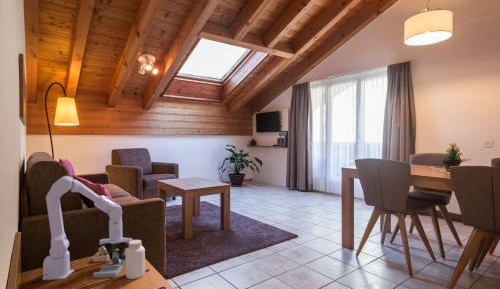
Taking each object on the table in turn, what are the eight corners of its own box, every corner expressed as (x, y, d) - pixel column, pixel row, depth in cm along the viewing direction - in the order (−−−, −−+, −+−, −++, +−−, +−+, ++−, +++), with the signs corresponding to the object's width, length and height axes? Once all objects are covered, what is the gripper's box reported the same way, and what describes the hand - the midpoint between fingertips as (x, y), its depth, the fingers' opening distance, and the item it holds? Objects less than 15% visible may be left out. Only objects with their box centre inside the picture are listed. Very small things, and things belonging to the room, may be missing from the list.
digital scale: (122, 268, 133) (121, 261, 133) (103, 269, 132) (103, 262, 132) (129, 259, 143) (129, 253, 143) (112, 260, 142) (112, 253, 142)
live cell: (110, 263, 135) (110, 251, 135) (114, 260, 139) (114, 247, 139) (119, 263, 135) (118, 250, 135) (122, 259, 139) (122, 247, 139)
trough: (93, 277, 124) (93, 273, 124) (101, 269, 131) (101, 265, 131) (116, 276, 124) (115, 272, 124) (122, 268, 132) (122, 264, 132)
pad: (120, 265, 134) (120, 263, 134) (108, 266, 134) (108, 264, 134) (124, 261, 140) (124, 259, 140) (113, 261, 139) (113, 259, 139)
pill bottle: (138, 280, 121) (137, 245, 121) (121, 278, 123) (121, 244, 122) (148, 271, 129) (148, 239, 129) (133, 270, 130) (132, 238, 130)
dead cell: (97, 260, 141) (96, 248, 141) (101, 256, 145) (100, 245, 145) (105, 260, 141) (104, 248, 141) (109, 256, 145) (108, 245, 145)
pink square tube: (92, 262, 140) (92, 256, 140) (99, 256, 147) (99, 250, 147) (107, 261, 140) (107, 255, 140) (113, 256, 147) (113, 250, 147)
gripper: (96, 233, 132) (97, 262, 132) (128, 232, 133) (128, 261, 133) (103, 228, 139) (104, 256, 139) (133, 227, 140) (134, 255, 140)
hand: (116, 258), depth 137 cm, fingers closed on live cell, 4 cm apart
